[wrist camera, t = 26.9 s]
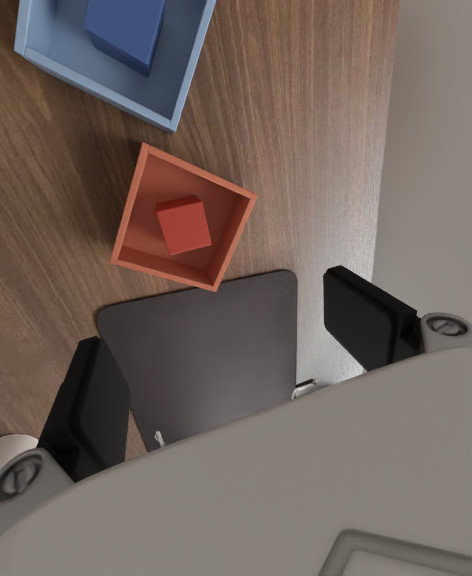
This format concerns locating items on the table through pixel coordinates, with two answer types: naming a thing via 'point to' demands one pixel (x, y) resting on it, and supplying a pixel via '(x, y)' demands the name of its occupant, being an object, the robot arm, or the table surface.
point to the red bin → (147, 231)
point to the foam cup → (15, 446)
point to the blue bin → (106, 70)
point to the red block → (183, 224)
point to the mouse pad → (205, 354)
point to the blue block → (126, 30)
